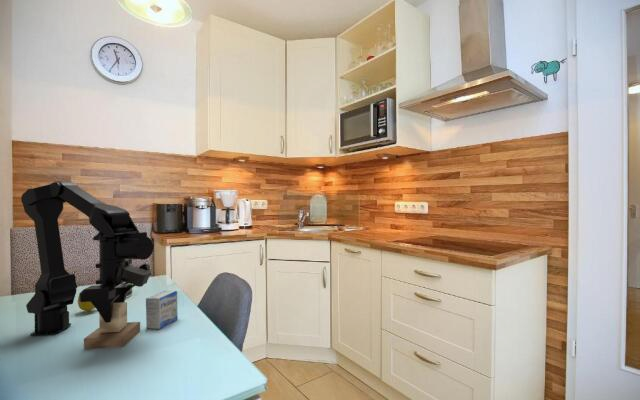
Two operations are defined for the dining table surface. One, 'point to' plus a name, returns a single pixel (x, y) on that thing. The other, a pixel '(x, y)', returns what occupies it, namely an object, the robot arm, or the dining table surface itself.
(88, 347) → the walnut block
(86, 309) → the lemon
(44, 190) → the robot arm
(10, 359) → the dining table surface
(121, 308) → the birch block
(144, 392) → the dining table surface
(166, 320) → the medicine box
